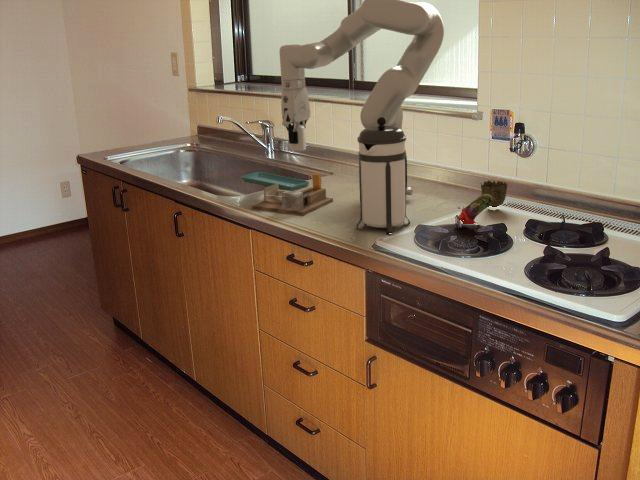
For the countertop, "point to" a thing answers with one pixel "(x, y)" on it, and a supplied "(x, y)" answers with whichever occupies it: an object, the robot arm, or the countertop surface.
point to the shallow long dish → (275, 181)
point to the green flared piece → (495, 191)
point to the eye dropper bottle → (299, 139)
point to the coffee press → (382, 176)
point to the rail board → (292, 200)
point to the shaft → (316, 186)
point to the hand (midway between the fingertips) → (297, 141)
